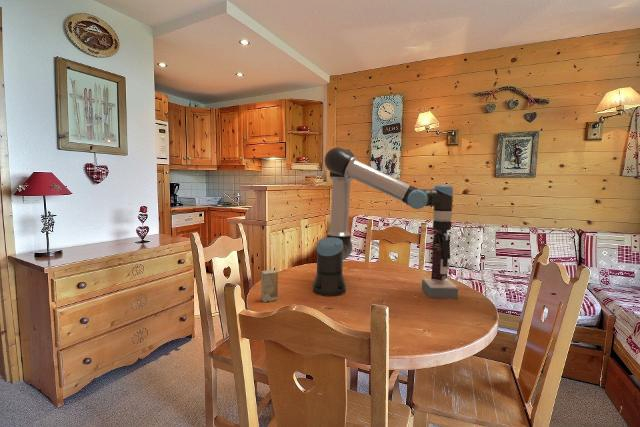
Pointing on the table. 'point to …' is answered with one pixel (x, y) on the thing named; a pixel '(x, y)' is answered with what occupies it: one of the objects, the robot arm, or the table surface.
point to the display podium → (439, 288)
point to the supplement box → (437, 264)
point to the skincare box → (269, 285)
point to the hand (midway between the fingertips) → (439, 270)
